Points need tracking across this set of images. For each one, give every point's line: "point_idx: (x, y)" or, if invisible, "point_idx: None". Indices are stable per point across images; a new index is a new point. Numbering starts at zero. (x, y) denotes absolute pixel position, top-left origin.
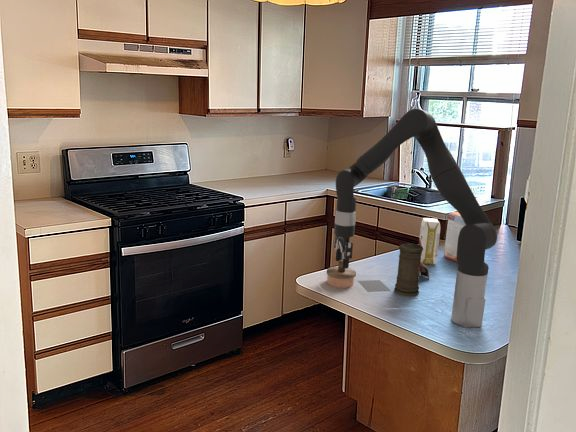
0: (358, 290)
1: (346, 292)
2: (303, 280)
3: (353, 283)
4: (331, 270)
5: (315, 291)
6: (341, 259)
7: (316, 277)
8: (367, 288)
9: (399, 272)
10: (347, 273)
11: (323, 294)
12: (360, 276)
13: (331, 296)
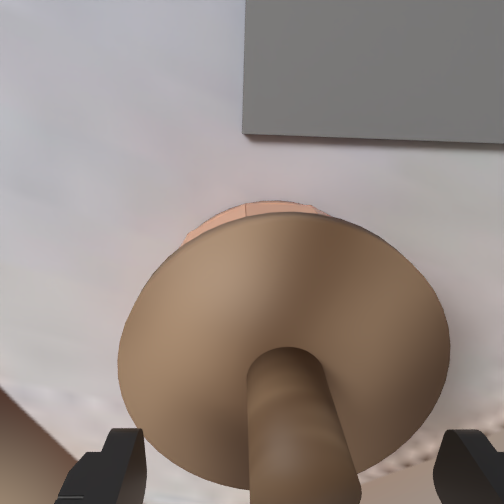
0: (445, 209)
1: (451, 314)
2: (178, 498)
3: (324, 214)
4: (245, 455)
5: (373, 477)
6: (133, 440)
7: (120, 422)
8: (460, 116)
9: None
10: (368, 341)
11: (432, 451)
12: (77, 28)
13: (479, 420)
